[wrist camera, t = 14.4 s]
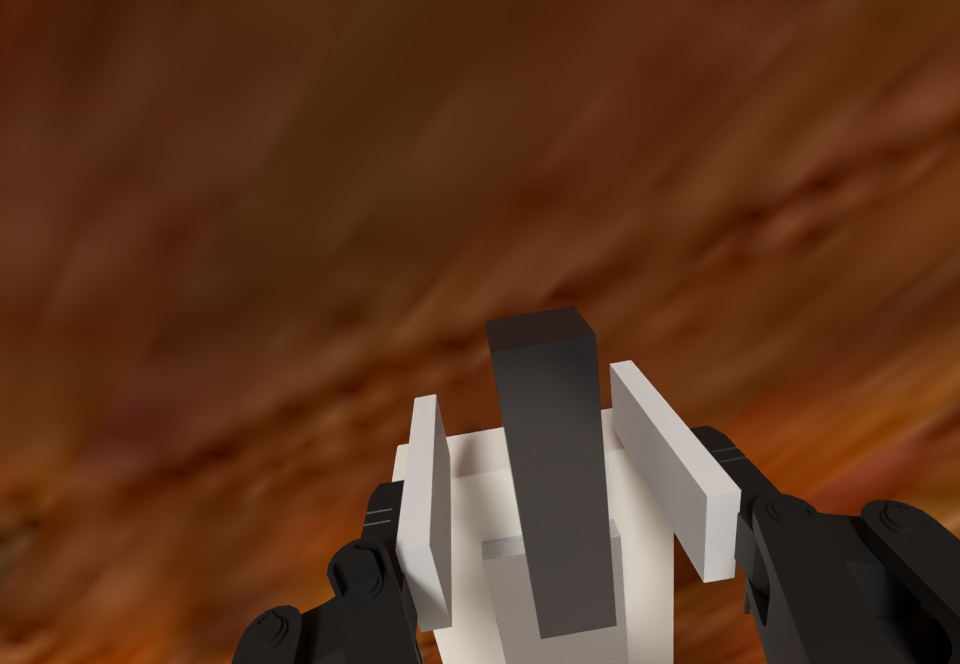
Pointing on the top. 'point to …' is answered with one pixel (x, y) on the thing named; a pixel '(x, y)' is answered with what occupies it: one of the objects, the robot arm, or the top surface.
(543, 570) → the dark gray bar
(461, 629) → the board
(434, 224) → the top surface
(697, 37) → the top surface
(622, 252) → the top surface
